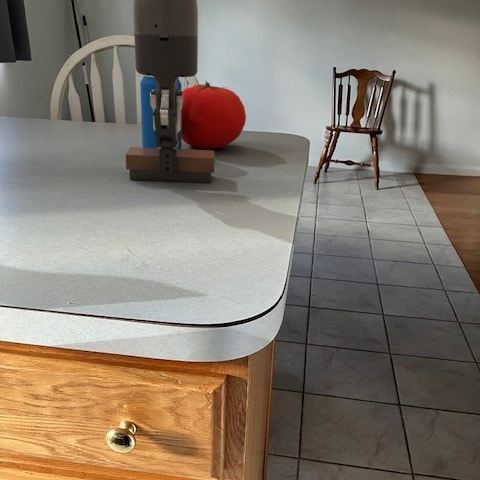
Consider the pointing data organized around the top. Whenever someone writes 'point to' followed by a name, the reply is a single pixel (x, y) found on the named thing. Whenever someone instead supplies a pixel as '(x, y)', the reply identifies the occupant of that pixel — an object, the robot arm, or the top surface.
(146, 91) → the beverage can
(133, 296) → the top surface
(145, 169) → the scrub brush
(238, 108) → the tomato
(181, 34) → the robot arm
